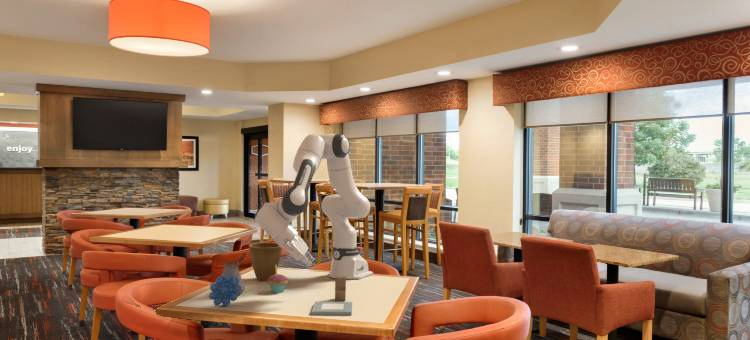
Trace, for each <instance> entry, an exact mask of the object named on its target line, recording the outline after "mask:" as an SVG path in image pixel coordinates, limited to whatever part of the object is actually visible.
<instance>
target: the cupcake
mask: <svg viewBox="0 0 750 340" xmlns="http://www.w3.org/2000/svg"><path fill="white" fill-rule="evenodd" d="M275 271H276V274H275V275H272V276H270V277H269V278H268V281H266V282H267V284H268V285H269V287H270V290H271V292H272V293H274V294H275V293H277V294H279V293H280V294H281V293H283V292H284V291H285V287H286V285H287V284H288V283H289V279H288V277H287V276H285V275H283V274H279V273H278V267H277V265H275Z"/></svg>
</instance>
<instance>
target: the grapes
mask: <svg viewBox="0 0 750 340" xmlns="http://www.w3.org/2000/svg"><path fill="white" fill-rule="evenodd" d="M232 278H233V276H232V275H231V274H227V275H226V276H225V277H223V276H221V275H219V276H218V277H216V279H215V282H213V283H212V284H210V286H209V290H210V291H211V292H209V295H208V298H209V299H210V300H213V304H214V305H215V306H220V305H222V306H223V307H227V306H229V305H230V304H231V302H235V301H237V299H238V297H239V296H238V295H237V293H238V292H240V291H241V286H240V285H237V284H238V283H239V278H238V277H234V278H233V279H232Z"/></svg>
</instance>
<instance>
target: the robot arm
mask: <svg viewBox="0 0 750 340" xmlns="http://www.w3.org/2000/svg"><path fill="white" fill-rule="evenodd" d="M350 148H351V147H350V140H349V138H348V137H347V136H346V135H345V134H343V133H342V134H341V133H324V134H314V133H312V134H307V135H306V136H305V137H304V138H303V140H302V142H301V143H300V145H299V147H298V148H297V151H296V153H295V156H294V159H293V164H292V168H293V169H294V171H295V173H296V175H295V179H294V181H293V184H292V186H291V187H290V188H289V189H288V190H287V191H285V193H284V194H283V196H282V197H281V199H280V200H276V201H272V202H271V201H270V202H263V203H262V204H261V206H260V207H259V208H258V210H257V211H256V212H255V213H254V220H255V222H256V223H257V224H258V225H259V227H260V228H261V229H262V230H263V231H264V232H265V233H266V234H267V235H270V237H271V239H272V240H273V241H274V243H277V244H278V245H279V246H280V247H281V248H282V250H283V249H285V251H287V253H288V254H289V255H290V256H291V257H292V258H293V259H294V260H295V261H296V262H299V261H301V262H302V263H303V264H305V265H306V266H307V267H311V266H312V265H313V262H314V261H315V258H314V257H313V256H312V254H311V253H310V251H308V250H309V248H310V247H309V246H308V244H307V243H306V242H305V241H304V239H303V238H302V237H301V236H300V235H299V232H298V231H297V230H296V229H295V228H294V227H293V226H292V224H290V223H291V222H293V221H295V220H296V219H297V218H298V217H299V216H300V215H301V214H303V212H305V211H306V210H307V209H308V206H309V188H310V186H311V183H312V180H313V177H314V175H315V174H316V173H317V171H318V169H319V167H320V166H321V163H322V160H326V166H327V167H326V168H327V174H328V179H329V184H330V186H331V188H333V189H334V190H335V191H336V192H338V194H330V195H326V196H325V197H324V198H323V199H322V201H321V211H322V213H323V214H324V215H325V216H326V217H327V219H328V220H329V222H330V224H331V228H332V235H333V237H332V238H333V240H332V241H333V246H332V252H331V253H332V258H331V264H330V271H329V273H328V274H329V277H330V278H332V279H335V277H336V276H346V280H362V279H363V278H366V277H368V276H372V275H373V274H374V272H373V271H371V270H369V264H368V261H367V260H366V259H364V257H362V256H361V255H360V252H362V251H363V247H362V246H357V237H358V235H357V233H358V232H357V230H356V228H355V227H353V226H352V224H351V223H350V221H349V219H355V220H357V219H364V218H366V217H367V216H368V215H369V214H370V210H371V202H370V201H369V199H368V198H367V197H366V196H365V195H363V194H362V193H361V192H360V190H359V189H358V187H357V185H356V183H355V180H354V176H353V171H352V170H353V169H352V165H351V160H350V155H349V151H350Z"/></svg>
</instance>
